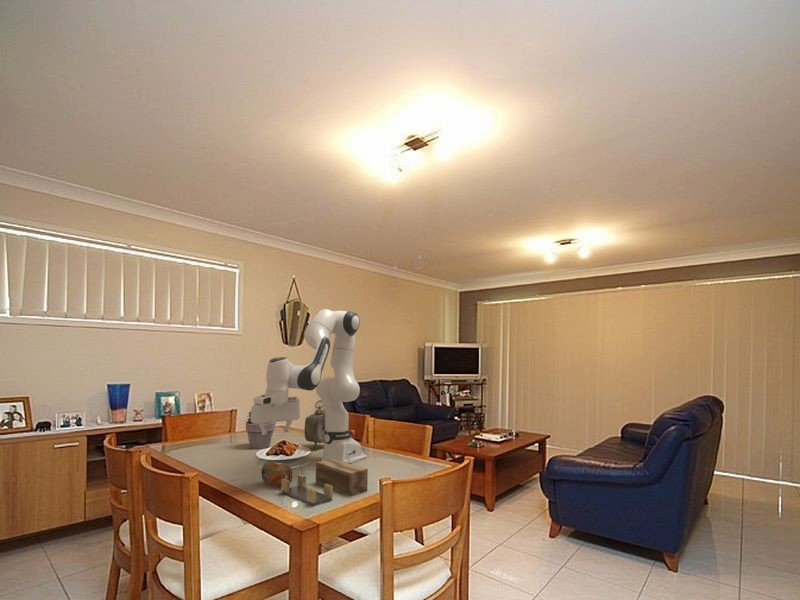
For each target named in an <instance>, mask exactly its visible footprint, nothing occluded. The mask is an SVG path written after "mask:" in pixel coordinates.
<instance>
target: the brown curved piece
mask: <svg viewBox="0 0 800 600" xmlns="http://www.w3.org/2000/svg"><path fill="white" fill-rule="evenodd" d="M261 478H262V481H263V482H264V483H265V484H266V485H269V486H274V487H279V488H281V483H282V479H284V478H285V479H287V480H290V484H291V482H292V480H293V470H292V467H291V466H290V465H289V464H287V463H282V462H275V461H269V462H266V463H264V465H263V466H262V468H261Z"/></svg>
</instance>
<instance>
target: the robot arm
mask: <svg viewBox="0 0 800 600" xmlns="http://www.w3.org/2000/svg"><path fill="white" fill-rule="evenodd" d="M360 322H361V321H360V317H359V315H358V314H357V313H356V312H354V311H351V310H349V311H348V310H333V311H332V310H330V309H326V308H324V309H321V310H319V311H318V312H317V313H316V314H315V315H314V316H313V318H311V321H310V323H309V324H308V325H307V327H306V328H305V330H304V333H303V335H304V337H303V338H304V341H305V342H306V343H307V344H308V346H310V348H312V349H314V350H315V351H314V353H313V355H312V358H311V361H310V362H309V363H308V364H305V365H297V364H294V363H292V362H291V361H289V359H288V357H284V356H281V357H280V356H278V357H273V358H271V359H269V361H268V362H267V368H266V375H265V376H266V379H265V380H266V388H265V393H263V394H260V395H258V396H255V397H254V398H253V400H252V401H253V405H252V406H251V409H252V410H251V409H250V411H251V418H250V417H249V418H250V420H251V422H252V423H253V424H259V426H260V428H261V430H262V435H267V430H265V428H264V426H265V423H271V422H276V423H278V422H280V423H281V422H285V423H286V424H285V427H283V428H282V429H283V433H289V431H290V427H291V425H292V423H293V422H292V421H296V420H299V419H300V417H301V411H300V410H301V409H300V399H299V398H298V397H297V396H289V389H295V390H296V389H297V390H304V391H311V392H312V391H314V390H315V391H316V395H317V396H318V397H319V398H320V401H322V402H321V404H322V406H323V411H324V414H325V431H324V441H325V442H324V446H323V451H322V455H321V461H324V460H329V459H334V460H338V461H341V462H345V463H350V464H353V463H356V462H358V461H361V460H363V459H367V455H366V454H365V453H363V450H362V446H361V444H360V443H359V442H358V441H356V440H355V439H354V438H353V437H352V435H355V434H356V432H355V430H353V429H351V430H350V429H349V416H350V415H349V412H348V411H347V409H346V408H345V406H344V404H343V403H348V402H352V401H356V400H357V399H358V398H359V396H360V392H361V390H360V389H361V388H360V385H359V383H358V381H357V380H356V377H355V374H354V357H355V352H356V350H355V349H356V332H357V331H358V329H359V327H360V326H361V325H360V324H361V323H360ZM332 334H334V335H335V336H334V339H333V344H332V349H331V341H330V338H331V335H332ZM330 350H331V356H330V362H329V365H330V367H331V368H332V370H333V372H334V377H330V376H329V377H325V378H322V373H323V370H324V366H325V363H326V360H327V359H328V357H329V356H328V355H329V353H330ZM321 378H322V379H321Z"/></svg>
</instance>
